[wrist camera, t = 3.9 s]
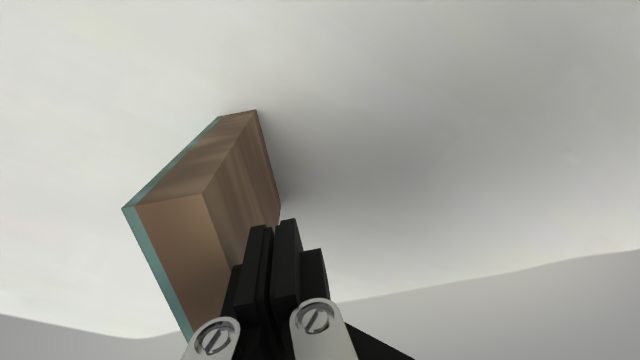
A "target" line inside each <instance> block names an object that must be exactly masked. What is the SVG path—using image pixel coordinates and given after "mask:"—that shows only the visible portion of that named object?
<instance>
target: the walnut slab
mask: <svg viewBox="0 0 640 360" xmlns="http://www.w3.org/2000/svg"><path fill="white" fill-rule="evenodd" d="M280 208H281V204H280V200H279V196H278V192H277V189H276V185H275V181H274V177H273V173H272V169H271V166H270V162H269V158H268V154H267V150H266V147H265V143H264V139H263V135H262V131H261V128H260V124H259V120H258V116H257V112H256V110H251V111H246V112H241V113H236V114H230V115H225V116H220V117H217V118H216V119H215V120H214V121H213V122H212V123H211V124H210V125H208V126H207V127H206V128H205V129H204V130H203V131H202V132H201V133H200V134H199V135H198V136H197V137H196V138H195V139H194V140H193V141H192V142H191V143H190V144H189V145H187V146H186V147H185V148H184V149H183V150H182V151H181V152H180V153H179V154H178V155H177V156H176V157H175V158H174V159H173V160H172V161H171V162H170V163H169V164H168V165H166V166H165V167H164V168H163V169H162V170H161V171H160V172H159V173H158V174H157V175H156V176H155V177H154V178H153V179H152V180H151V181H150V182H149V183H148V184H147V185H145V186H144V187H143V188H142V189H141V190H140V191H139V192H138V193H137V194H136V195H135V196H134V197H133V198H132V199H131V200H130V201H129V202H128V203H127V204H126V205H125V206H123V207H122V208H121V209H122V211H123V214H124V216H125V218H126V220H127V222H128V224H129V226H130V228H131V230H132V232H133V234H134V236H135V238H136V240H137V242H138V244H139V246H140V248H141V250H142V252H143V254H144V256H145V258H146V260H147V262H148V264H149V266H150V268H151V270H152V272H153V274H154V276H155V278H156V280H157V282H158V284H159V286H160V288H161V290H162V292H163V294H164V297H165V299H166V301H167V303H168V305H169V307H170V309H171V311H172V313H173V315H174V317H175V319H176V321H177V323H178V325H179V327H180V329H181V331H182V333H183V335H184V337H185V339H186V341H187V343H188V344H189V342H190V340H191V338H192V337H193V335H194V333H195V332H196V331H197V330H198V329H199V328H200V327H201V326H203V325H204V324H205V323H207V322H208V321H211V320H213V319H215V318H219V317H220V314H221V310H222V307H223V303H224V299H225V295H226V291H227V287H228V283H229V280H230V276H231V272H232V269H233V266H235V265H239V264H242V263H243V258H244V254H245V249H246V245H247V240H248V236H249V231H250V228H251V227H253V226H258V225H263V224H266V226H267V227H272V228H273V231H274V235H275V226H277V225H278V223H279V216H280Z"/></svg>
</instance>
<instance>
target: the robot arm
mask: <svg viewBox="0 0 640 360" xmlns="http://www.w3.org/2000/svg"><path fill="white" fill-rule="evenodd" d="M181 360H415V359H413V358H411V357H409V356H407V355H406V354H404V353H402V352H400V351H398V350H396V349H394V348H392V347H390V346H388V345H387V344H385V343H383V342H381V341H379V340H377V339H375V338H373V337H372V336H370V335H368V334H366V333H364V332H362V331H360V330H359V329H357V328H355V327H353V326H351V325H349V324H347V323H345V322H344V321H343V318H342V316H341V313H340V310H339V308H338V307H337V305H336V304H335V303H334V302H332V301H331V299H330V292H329V285H328V279H327V274H326V269H325V264H324V260H323V255H322V251H321V248H318V249H313V250H308V251H303V247H302V243H301V239H300V235H299V231H298V227H297V223H296V219H295V218H293V219H288V220H283V221H280V225H277V226H275V235H274V231H273V228H272V227H267V226H266V224H263V225H258V226H253V227H251V228H250V231H249V236H248V240H247V245H246V249H245V254H244V258H243V263H242V264H239V265H235V266H233V269H232V272H231V276H230V280H229V283H228V287H227V291H226V295H225V299H224V303H223V307H222V310H221V314H220V317H219V318H215V319H213V320H211V321H208V322H207V323H205V324H204V325H203V326H201V327H200V328H199V329H198V330H197V331H196V332H195V333H194V335H193V337H192V338H191V340H190V342H189V344H188V346H187V348H186V350H185V352H184V354H183V356H182V358H181Z"/></svg>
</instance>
